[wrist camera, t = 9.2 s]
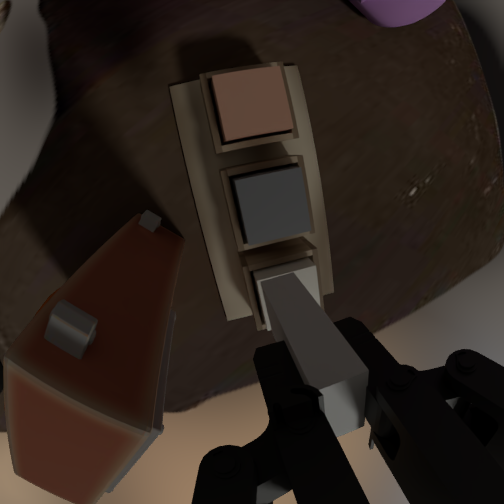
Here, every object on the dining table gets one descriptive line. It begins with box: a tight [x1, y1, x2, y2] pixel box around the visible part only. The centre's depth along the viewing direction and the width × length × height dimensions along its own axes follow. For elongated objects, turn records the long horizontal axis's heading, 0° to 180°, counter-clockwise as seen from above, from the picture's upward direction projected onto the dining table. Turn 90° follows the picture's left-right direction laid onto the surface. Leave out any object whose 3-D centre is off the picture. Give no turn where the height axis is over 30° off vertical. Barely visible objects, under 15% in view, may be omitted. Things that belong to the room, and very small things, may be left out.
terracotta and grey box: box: [3, 210, 185, 504], centre depth 18 cm, size 21×7×15 cm
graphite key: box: [230, 165, 311, 246], centre depth 23 cm, size 5×5×4 cm
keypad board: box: [170, 62, 334, 331], centre depth 25 cm, size 12×24×4 cm, turn 11°
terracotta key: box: [211, 66, 294, 143], centre depth 20 cm, size 5×5×4 cm
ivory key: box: [251, 257, 321, 331], centre depth 26 cm, size 5×5×4 cm
